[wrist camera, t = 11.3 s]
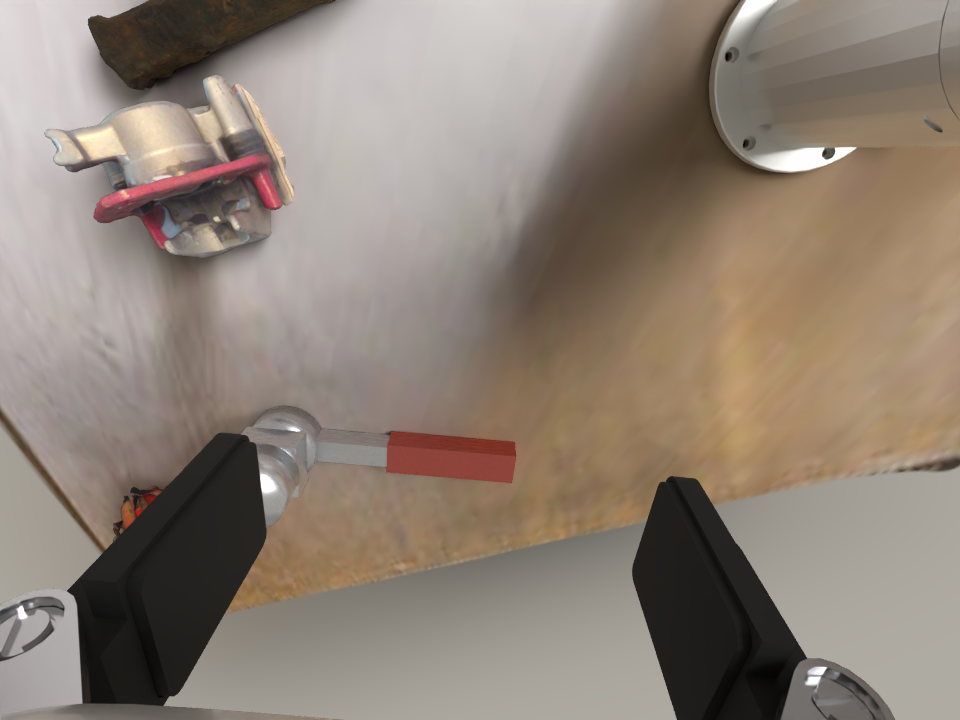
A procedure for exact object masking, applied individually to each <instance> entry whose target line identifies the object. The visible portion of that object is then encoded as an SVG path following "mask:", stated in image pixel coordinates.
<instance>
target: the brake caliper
mask: <svg viewBox="0 0 960 720" xmlns="http://www.w3.org/2000/svg"><path fill="white" fill-rule="evenodd" d="M203 86H204V90H205V94H206V98H207V101H208V105H207V106H198V107H195V108H184V107H183V106H181V105H179V104H176V103H173V102H169V101H155V102H145V103H140V104H136V105H132V106H129V107H126V108H122V109H119V110H117V111H115V112H113V113H111V114H110V115H108V116H107V117H106V118H105V119H104V120H103V121H102V122H101V123H100V124H98V125H96V126H92V127H86V128H79V129H75V130H71V131H64V130H59V129H48V130H46V131H45V132H44V134H45V136H46V137H47V138H49V139H51V140H52V142H53V143H54V145H55V146H56V148H57V151H56V154H55V155H54V157H53V161H54V162H55V163H56V164H57V165H60V166H65V168H66V169H67V170H68V171H70V172H78V171H80V170H82V169H86V168H90V167H93V166H96V165H99V164H102V165H103V166H104V168H105V170H106V171H107V174H108V176H109V179H110V182H111V184H112V186H113V187H114V189H115V190H116V192H114V193H112V194H109V195H107V196H104V197H103V198H101V199H100V201H99V203H97V205H96V206H97V208H95V212H94V216H93V217H94V219H95V220H97V221H98V222H100V223H110V222H113V221H115V220H118V219H122V218H125V217H127V216H133V215H136V216H138V217H140V218H141V220H142V221H143V223H144V225H145V226H146V228H147V229H148V231H149V233H150V235H151V237H152V238H153V240H154V241H155V243H156V244H157V246H158V247H159V248H160V249H162V250H167V251H168V252H170V253H172V254H174V255H182V256H195V257H199V258H206V257H211V256H214V255H218V254H221V253H224V252H226V251H228V250H230V249H232V248H234V247H236V246H239V245H243V244H248V243H252V242H254V241H258V240H261V239H264V238H267V237H269V236H270V235H271V220H270V217H271V212H270V210H276V209H279V208H281V206H282V203H283V204H284V205H288V204H290V203H291V202H292V200H293V196H294V187H293V185H292V184H291V183H290V182H289V181H288V179H287V177H286V175H285V163H286V161H285V157H284V155H283V152H282V150H281V148H280V146H279V144H278V143H277V141H276V140H275V138H274V136H273V135H272V133H271V132H270V131H269V129H268V127H267V125H266V123H265V121H264V120H263V117H262V114H261V112H260V110H259V108H258V106H257V105H256V103H255V102H254V100H253V98H252V96H251V95H250V94H249V93H248V92H247V91H245V90H244V88H243V87H242V86H241V85H240V84H235V85H234V86H233V89H232V88H231V87H230V85H229V84H228V83H227V82H226V80H225V79H224V78H223V77H222V76H219V75H212V76H209V77H207V78H205V79H204V80H203Z"/></svg>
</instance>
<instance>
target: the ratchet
mask: <svg viewBox="0 0 960 720" xmlns="http://www.w3.org/2000/svg"><path fill="white" fill-rule="evenodd" d="M252 427H256V428H268V429H279V430H290V431H301V432H306V436H307V457H308V473H309V471H310V470H311V468H312V466H313V464H314V463H315V461H323V462H334V463H346V464H358V465H369V466H381V467H387V469H386V472H390V473H401V474H413V475H425V476H436V477H448V478H460V479H471V480H483V481H494V482H506V483H512V479H513V473H514V467H515V461H516V451H515V442H507V441H496V440H485V439H474V438H462V437H451V436H440V435H429V434H418V433H407V432H395V431H392V432H391V435H386V434H375V433H364V432H353V431H341V430H330V429H322V428H321V426H320V425H319V423H318V422H317V421H316V419H315V418H314V417H312V416H311V415H310V414H309V413H307V412H305V411H303V410H301V409H299V408H295V407H291V406H278V407H274V408H271V409H269V410H267V411H266V412H264V413H263V414H262V415H261V416H260V418H259V419H258V420H257V421H256V422H255V424H254V425H253V426H252Z"/></svg>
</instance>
